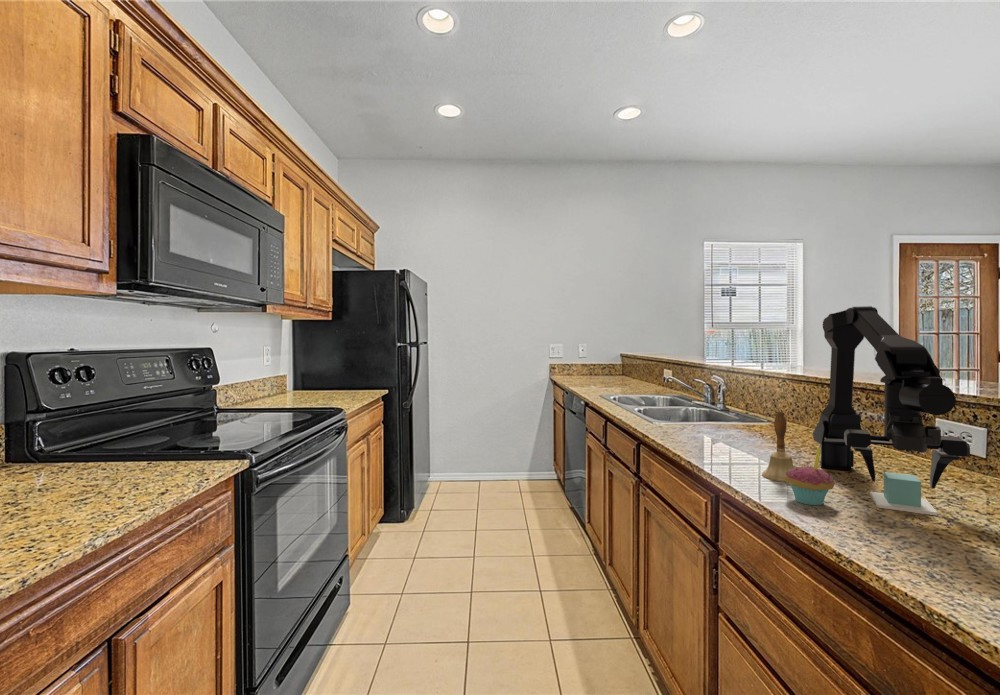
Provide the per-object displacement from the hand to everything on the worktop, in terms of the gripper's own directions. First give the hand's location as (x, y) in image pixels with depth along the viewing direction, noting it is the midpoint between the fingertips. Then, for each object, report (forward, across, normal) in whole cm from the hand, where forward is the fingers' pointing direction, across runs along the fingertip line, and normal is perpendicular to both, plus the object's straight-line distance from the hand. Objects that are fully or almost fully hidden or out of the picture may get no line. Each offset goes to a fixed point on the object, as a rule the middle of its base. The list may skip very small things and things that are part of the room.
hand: (902, 484), depth 96 cm
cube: (+3, 0, 0) cm, 3 cm away
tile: (+4, 0, 0) cm, 4 cm away
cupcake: (+4, -16, -7) cm, 18 cm away
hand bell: (+4, -21, +10) cm, 24 cm away
